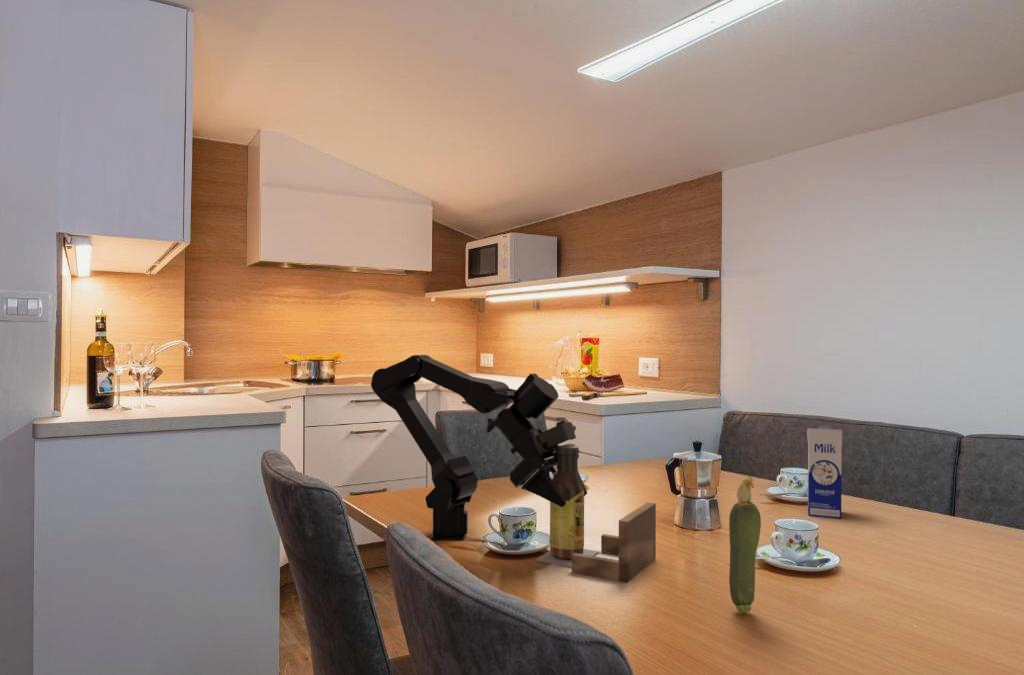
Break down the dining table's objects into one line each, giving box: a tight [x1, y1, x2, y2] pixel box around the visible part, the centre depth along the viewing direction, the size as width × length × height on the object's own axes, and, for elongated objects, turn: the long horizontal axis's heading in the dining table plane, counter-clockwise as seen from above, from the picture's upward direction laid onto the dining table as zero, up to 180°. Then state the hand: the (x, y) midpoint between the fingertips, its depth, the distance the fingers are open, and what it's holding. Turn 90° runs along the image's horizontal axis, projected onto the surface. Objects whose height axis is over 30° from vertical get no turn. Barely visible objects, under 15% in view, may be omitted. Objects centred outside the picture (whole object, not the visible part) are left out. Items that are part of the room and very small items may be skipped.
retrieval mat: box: [535, 548, 600, 569], centre depth 127 cm, size 8×10×1 cm
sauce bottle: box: [549, 444, 585, 559], centre depth 127 cm, size 7×6×20 cm
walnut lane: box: [571, 502, 657, 583], centre depth 122 cm, size 10×14×10 cm
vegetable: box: [728, 476, 762, 615], centre depth 102 cm, size 4×4×20 cm
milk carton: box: [806, 425, 843, 519], centre depth 159 cm, size 7×7×20 cm
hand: (575, 500), depth 126 cm, fingers open, 9 cm apart
